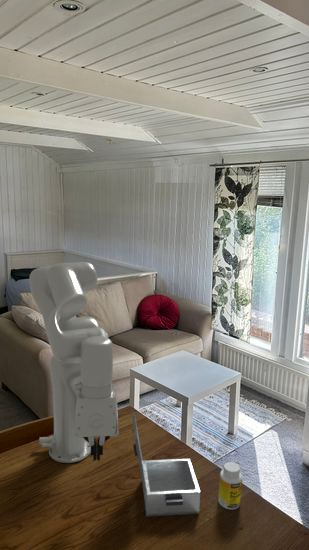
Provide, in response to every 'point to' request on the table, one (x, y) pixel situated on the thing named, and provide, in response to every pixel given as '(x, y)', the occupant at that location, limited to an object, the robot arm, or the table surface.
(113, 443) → the table surface
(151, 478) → the cooker pot
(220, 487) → the supplement bottle
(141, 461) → the lid
